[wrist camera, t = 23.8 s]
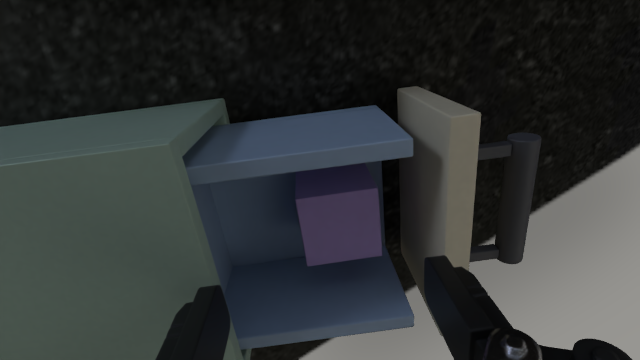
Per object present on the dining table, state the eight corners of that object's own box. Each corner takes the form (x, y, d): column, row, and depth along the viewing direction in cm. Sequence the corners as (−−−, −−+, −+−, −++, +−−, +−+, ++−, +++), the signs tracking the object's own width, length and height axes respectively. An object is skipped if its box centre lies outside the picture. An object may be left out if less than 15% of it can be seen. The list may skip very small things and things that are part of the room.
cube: (368, 217, 21) (382, 256, 17) (305, 226, 21) (307, 266, 17) (363, 159, 19) (378, 187, 16) (295, 168, 19) (294, 199, 16)
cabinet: (224, 97, 20) (168, 143, 11) (263, 269, 25) (245, 388, 16) (-24, 129, 19) (-266, 200, 11) (67, 295, 24) (-53, 428, 16)
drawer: (491, 76, 19) (596, 97, 12) (477, 241, 24) (547, 322, 17) (183, 116, 19) (120, 159, 12) (229, 274, 23) (201, 369, 17)
